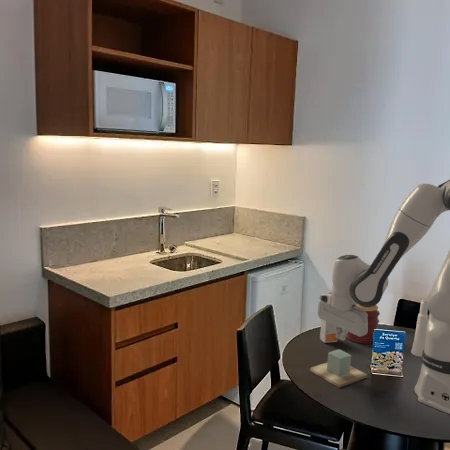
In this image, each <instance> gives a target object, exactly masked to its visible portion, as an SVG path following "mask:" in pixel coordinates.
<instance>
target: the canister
mask: <svg viewBox="0 0 450 450" xmlns="http://www.w3.org/2000/svg"><path fill="white" fill-rule="evenodd" d="M357 307H359V308H362V309H364V310H365V312H366V313H367V315H368V317H367V319H368V332H367V334H366V335H364V336H360V337H359V336H357V335H355V334H353V333H350V332H348V333H347V334H346V337H345V338H347V339H348V340H349V341H351V342H354V343H358V344H365V345H371V344H373V343H372V342H373V332H374V329H376V328H378V329H379V323H380V319H379V316H380V314H381V311H379V310H378V309H379V306H378V304H376V305H375V306H372V307H363V306H361V305H359V304H357Z"/></svg>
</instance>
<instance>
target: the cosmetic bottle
mask: <svg viewBox="0 0 450 450" xmlns="http://www.w3.org/2000/svg"><path fill="white" fill-rule="evenodd" d="M427 300H428V299H421V302H420V308H419V313H418V315H417V319H416V320H417V321H416V328H415V332H414V339H413V343H412V347H411V350H410V353H411V355H413V356H415V357H419V358H422V353H423V350H424V347H425V338H426V329H427V324H428V319H429V314H428V312H429V309H428V303H427Z"/></svg>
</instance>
